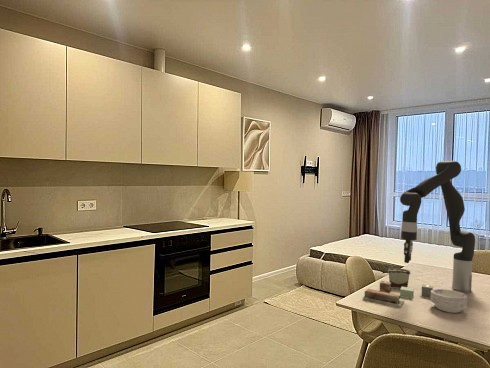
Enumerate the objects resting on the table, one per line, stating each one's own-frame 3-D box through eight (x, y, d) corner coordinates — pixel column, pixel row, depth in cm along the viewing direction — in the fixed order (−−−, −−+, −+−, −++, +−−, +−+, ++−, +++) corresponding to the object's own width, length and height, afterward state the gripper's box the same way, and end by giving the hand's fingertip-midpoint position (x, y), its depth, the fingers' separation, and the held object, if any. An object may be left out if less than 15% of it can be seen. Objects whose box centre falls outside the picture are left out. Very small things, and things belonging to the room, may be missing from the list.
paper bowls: (433, 301, 180) (434, 286, 180) (468, 309, 171) (469, 293, 171) (426, 309, 169) (427, 292, 168) (463, 318, 159) (464, 300, 159)
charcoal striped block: (432, 295, 191) (432, 285, 191) (432, 297, 187) (432, 288, 187) (422, 293, 194) (422, 284, 194) (421, 295, 189) (421, 286, 189)
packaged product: (362, 291, 179) (368, 286, 187) (362, 300, 179) (367, 295, 187) (400, 299, 169) (405, 293, 177) (400, 309, 169) (404, 303, 177)
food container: (406, 285, 208) (406, 268, 208) (409, 288, 202) (410, 271, 201) (384, 284, 209) (385, 267, 209) (387, 287, 203) (388, 269, 203)
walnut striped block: (390, 291, 195) (391, 282, 195) (389, 293, 191) (389, 284, 191) (381, 289, 198) (381, 280, 198) (379, 291, 194) (379, 282, 193)
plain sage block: (413, 295, 189) (413, 288, 189) (412, 299, 184) (412, 291, 184) (401, 293, 192) (401, 286, 192) (400, 296, 187) (400, 289, 187)
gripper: (415, 232, 180) (413, 265, 180) (418, 229, 192) (416, 260, 192) (399, 231, 184) (397, 262, 184) (403, 228, 196) (401, 258, 196)
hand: (407, 261), depth 188 cm, fingers open, 7 cm apart
